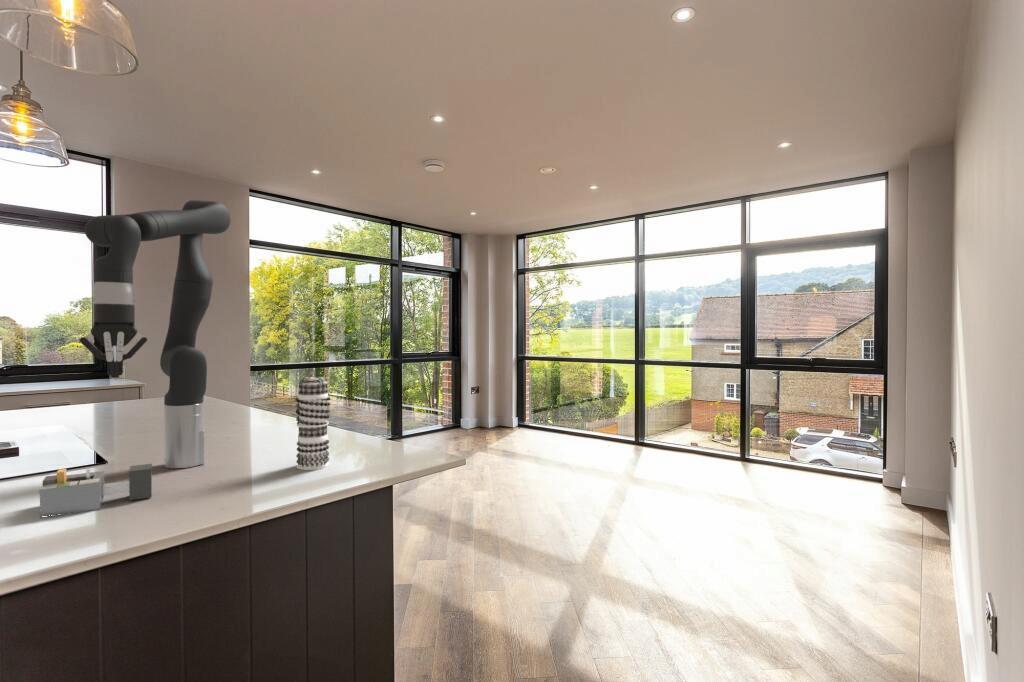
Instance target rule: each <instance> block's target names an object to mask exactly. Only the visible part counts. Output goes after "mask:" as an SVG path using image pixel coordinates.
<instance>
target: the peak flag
mask: <svg viewBox="0 0 1024 682" xmlns="http://www.w3.org/2000/svg"><path fill="white" fill-rule="evenodd" d="M56 475H57V483H62V482H66V475H67V468H61V469H58V470H57V471H56Z"/></svg>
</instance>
